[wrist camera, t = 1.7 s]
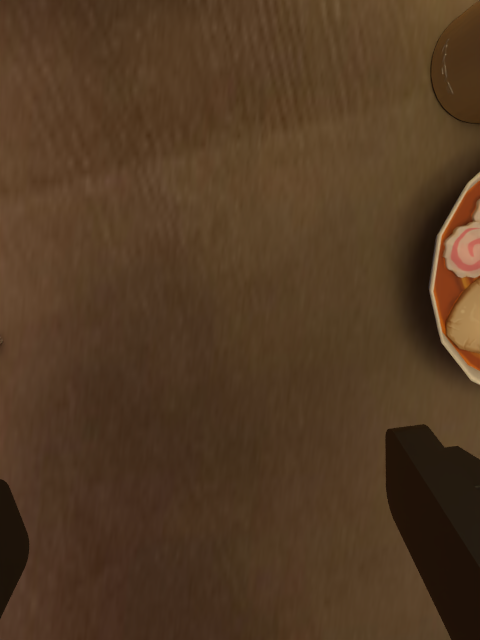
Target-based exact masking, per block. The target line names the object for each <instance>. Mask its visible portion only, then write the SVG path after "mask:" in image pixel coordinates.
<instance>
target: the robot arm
mask: <svg viewBox="0 0 480 640" xmlns="http://www.w3.org/2000/svg"><path fill="white" fill-rule="evenodd" d="M431 78H432V83H433V88H434V91H435V93H436V96H437V98H438V100H439V102H440V103H441V105H442V106H443V108H444V109H445V110H447V111H448V112H449V113H450V114H451V115H452V116H454V117H456V118H457V119H459V120H462V121H465V122H469V123H480V0H479V1H478V2H476V3H475V4H474V5H473V6H471V7H470V8H469V9H468V10H467V11H465V12H464V13H463V14H462V15H460V16H459V17H458V18H457V19H455V20H454V21H453V22H452V23H451V24H450V25H449V26H448V27H447V28H446V29H445V31H444V32H443V34H442V35H441V37H440V39H439V40H438V42H437V45H436V48H435V50H434V53H433V59H432V64H431ZM386 492H387V498H388V503H389V507H390V510H391V513H392V516H393V519H394V521H395V523H396V525H397V527H398V529H399V532H400V534H401V536H402V538H403V540H404V542H405V544H406V546H407V548H408V550H409V552H410V554H411V556H412V559H413V561H414V563H415V565H416V567H417V569H418V571H419V573H420V575H421V577H422V579H423V581H424V583H425V586H426V588H427V590H428V592H429V594H430V596H431V598H432V600H433V602H434V604H435V606H436V608H437V610H438V613H439V615H440V617H441V619H442V621H443V623H444V625H445V627H446V629H447V631H448V633H449V635H450V638H451V640H480V460H479V459H478V458H476V457H475V456H473V455H471V454H470V453H468V452H466V451H465V450H463V449H462V448H460V447H458V446H454V447H446V448H444V446H443V445H442V444H441V442H440V441H439V440H438V439H437V437H436V436H435V435H434V433H433V432H432V431H431V430H430V428H429V427H428V426H426V425H424V424H422V425H415V426H407V427H399V428H392V429H388V430H387V432H386ZM28 554H29V538H28V534H27V531H26V528H25V526H24V523H23V521H22V518H21V516H20V513H19V510H18V508H17V505H16V503H15V500H14V498H13V495H12V493H11V490H10V488H9V486H8V484H7V483H6V482H5V481H4V480H1V479H0V618H1V616H2V614H3V612H4V610H5V608H6V605H7V603H8V601H9V599H10V597H11V595H12V593H13V591H14V589H15V587H16V585H17V583H18V581H19V579H20V576H21V574H22V572H23V570H24V568H25V566H26V563H27V559H28Z"/></svg>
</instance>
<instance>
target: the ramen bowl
mask: <svg viewBox="0 0 480 640" xmlns="http://www.w3.org/2000/svg"><path fill="white" fill-rule="evenodd" d="M428 288H429V293H430V297H431V302H432V306H433V311H434V315H435V320H436V324H437V329H438V333H439V337H440V340H441V343H442V344H443V345H444V347H445V348H446V349H447V350H448V352H449V353H450V354H451V356H452V357H453V358H454V359H455V361H456V362H457V363H458V365H459V366H460V367H461V368H462V370H463V371H464V372H465V374H466V375H467V376H468V377H469V379H470V380H471V381H473V382H475V383H477V384H479V385H480V172H479V173H478V174H477V175H476V176H475V177H474V178H472V179H471V180H470V181H469V182H468V183H467V185H466V186H465V187H464V189H463V190H462V192H461V194H460V195H459V197H458V199H457V201H456V203H455V204H454V206H453V208H452V210H451V211H450V213H449V215H448V217H447V218H446V220H445V222H444V224H443V226H442V227H441V229H440V231H439V233H438V234H437V236H436V241H435V247H434V254H433V261H432V267H431V274H430V281H429V287H428Z"/></svg>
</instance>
